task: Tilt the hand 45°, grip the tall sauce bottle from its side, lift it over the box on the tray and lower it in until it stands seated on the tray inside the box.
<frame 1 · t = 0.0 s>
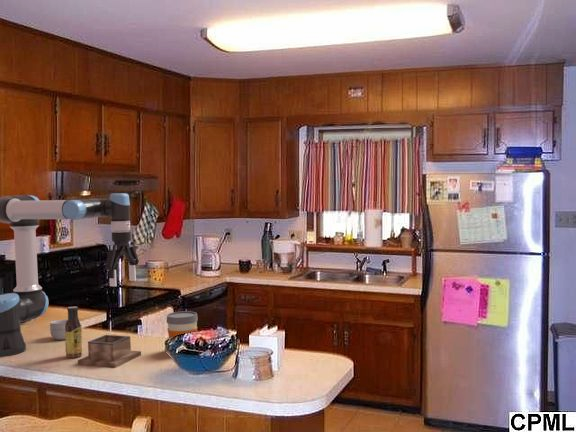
hand: (123, 283, 252), 28 cm above the counter, tool pointing down, fingers open, 13 cm apart
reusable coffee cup: (183, 351, 253), on the counter
box on a tray: (110, 359, 243), on the counter
sauce bottle: (74, 356, 248), on the counter
teacup: (66, 338, 278), on the counter
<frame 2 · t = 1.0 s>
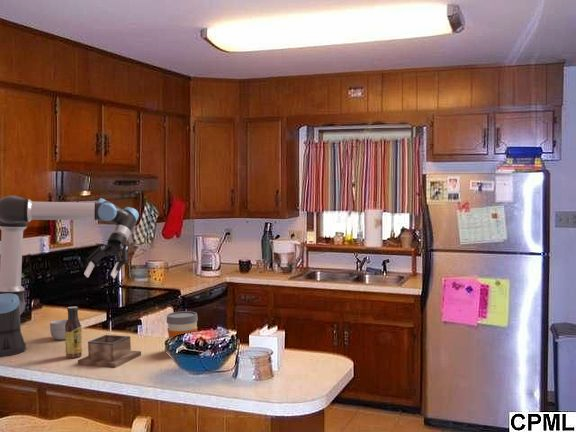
hand: (99, 276, 263), 30 cm above the counter, tool tilted 45°, fingers open, 13 cm apart
nothing on the counter moved.
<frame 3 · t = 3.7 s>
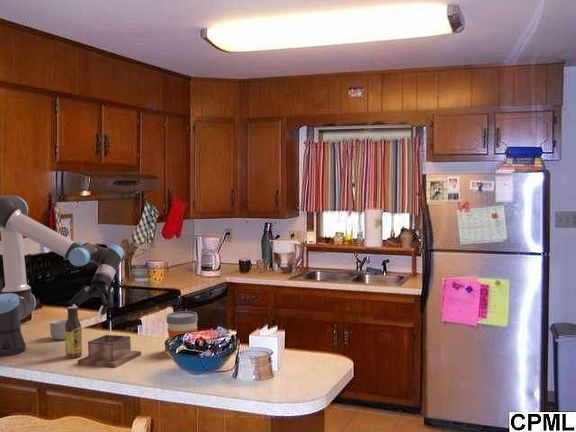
hand: (83, 320, 251), 14 cm above the counter, tool tilted 45°, fingers open, 13 cm apart
nothing on the counter moved.
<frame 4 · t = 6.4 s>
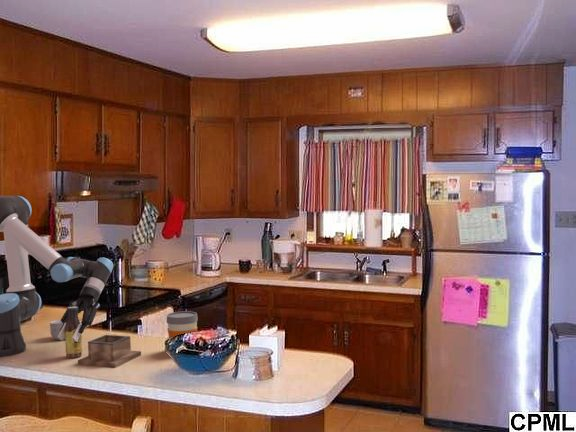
hand: (67, 339, 244), 8 cm above the counter, tool tilted 45°, fingers closed on sauce bottle, 6 cm apart
sauce bottle: (74, 356, 248), on the counter, touching gripper
everything else where it was.
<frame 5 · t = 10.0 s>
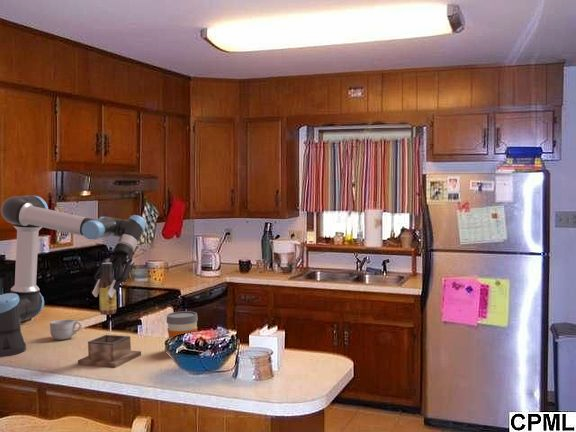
hand: (101, 295, 238), 26 cm above the counter, tool tilted 45°, fingers closed on sauce bottle, 6 cm apart
sauce bottle: (108, 314, 242), point 18 cm above the counter, touching gripper
everything else where it was.
when the fingers open (11 cm above the counter, at t = 13.4 s): sauce bottle drops 1 cm, resting on box on a tray.
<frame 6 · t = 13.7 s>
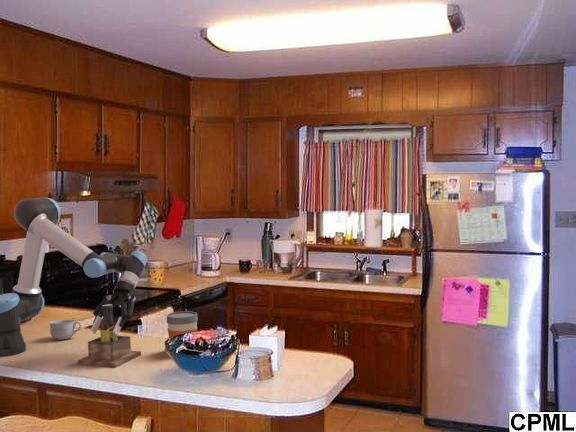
hand: (104, 332, 239), 11 cm above the counter, tool tilted 45°, fingers open, 9 cm apart
sauce bottle: (110, 355, 243), point 1 cm above the counter, touching box on a tray
everything else where it was.
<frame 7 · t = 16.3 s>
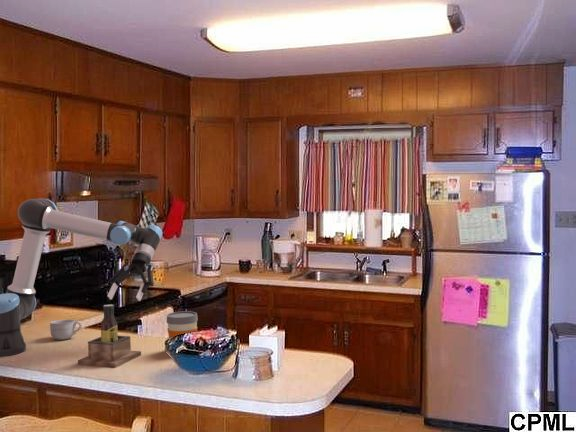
hand: (123, 298, 251), 22 cm above the counter, tool tilted 45°, fingers open, 13 cm apart
nothing on the counter moved.
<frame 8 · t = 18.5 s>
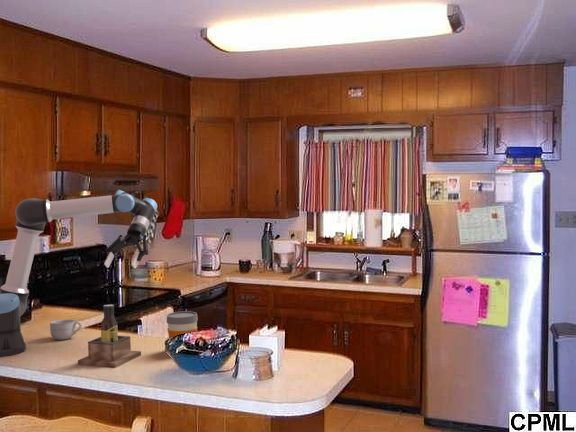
hand: (119, 266, 262), 34 cm above the counter, tool tilted 45°, fingers open, 13 cm apart
nothing on the counter moved.
at the end: sauce bottle 0.1 cm off-centre on the box on a tray, point 1.3 cm above the box on a tray's base; sauce bottle tilted 0°; the gripper is holding nothing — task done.
